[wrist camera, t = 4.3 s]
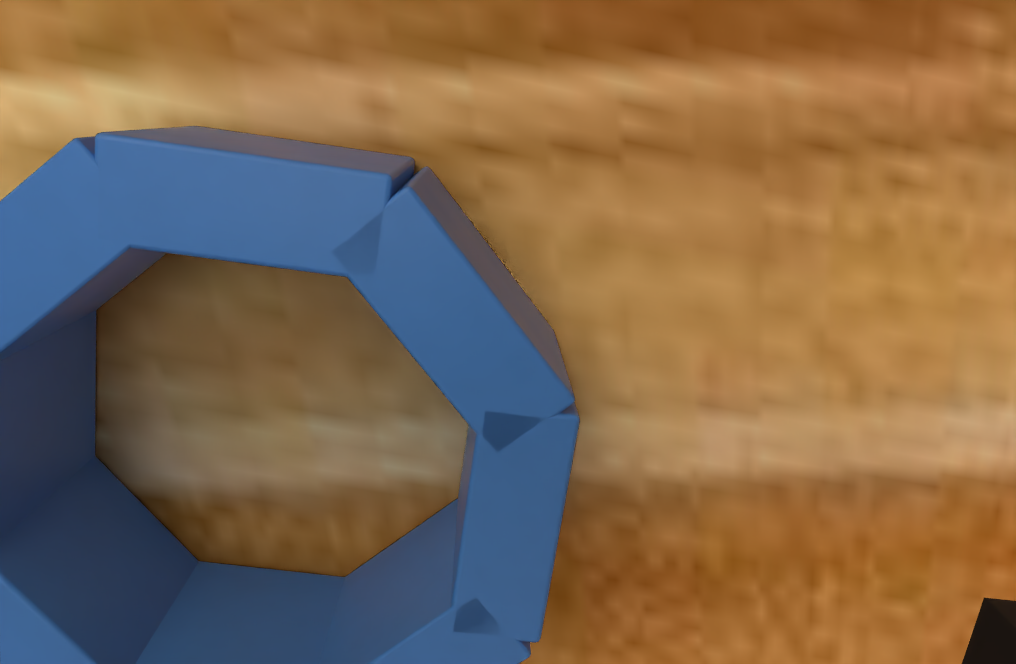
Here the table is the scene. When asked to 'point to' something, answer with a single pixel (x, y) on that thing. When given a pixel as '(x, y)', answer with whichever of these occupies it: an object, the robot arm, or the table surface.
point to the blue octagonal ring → (296, 246)
